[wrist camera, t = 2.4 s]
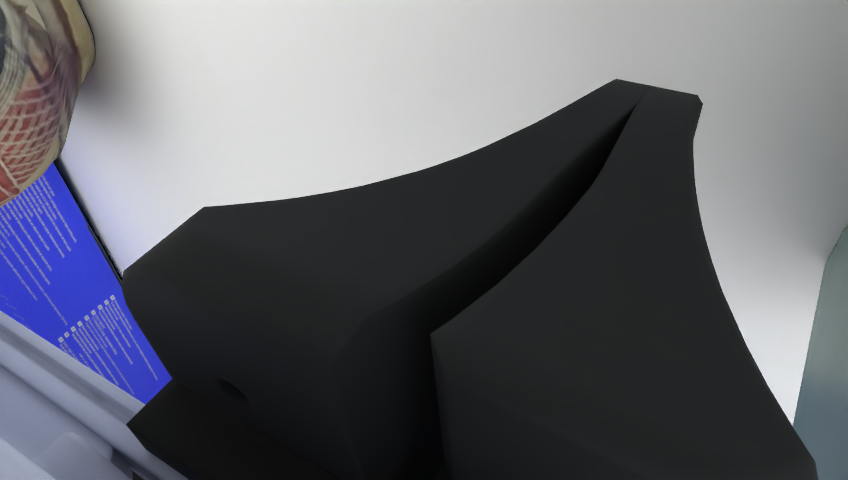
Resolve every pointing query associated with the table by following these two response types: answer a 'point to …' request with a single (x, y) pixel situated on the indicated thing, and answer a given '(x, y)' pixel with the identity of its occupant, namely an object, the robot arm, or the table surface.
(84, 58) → the ceramic jug
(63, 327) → the blue cardboard box
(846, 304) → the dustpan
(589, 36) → the table surface
